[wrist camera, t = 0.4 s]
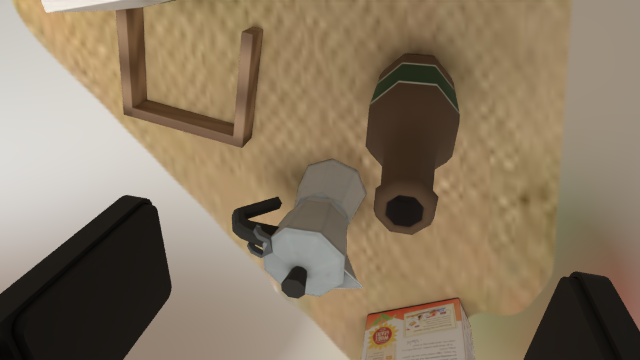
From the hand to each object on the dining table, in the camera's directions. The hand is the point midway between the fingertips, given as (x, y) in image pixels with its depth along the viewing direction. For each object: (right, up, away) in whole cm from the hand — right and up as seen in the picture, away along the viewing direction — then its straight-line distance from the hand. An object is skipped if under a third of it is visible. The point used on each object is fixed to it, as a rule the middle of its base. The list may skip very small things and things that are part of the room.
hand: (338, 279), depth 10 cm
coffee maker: (0, +2, +42) cm, 42 cm away
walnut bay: (-15, +15, +38) cm, 44 cm away
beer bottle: (+10, +12, +34) cm, 37 cm away
